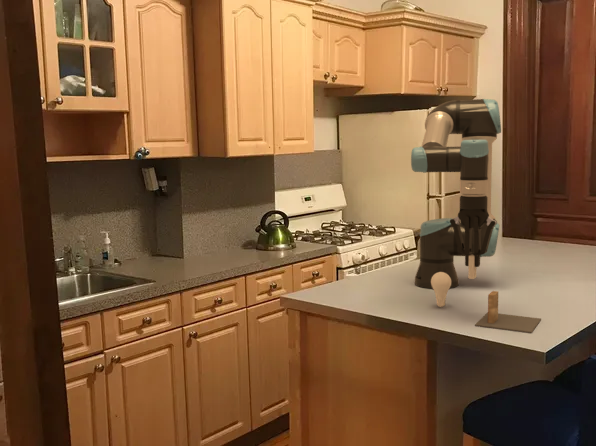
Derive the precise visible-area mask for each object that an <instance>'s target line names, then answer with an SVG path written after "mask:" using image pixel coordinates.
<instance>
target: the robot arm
mask: <svg viewBox="0 0 596 446" xmlns="http://www.w3.org/2000/svg"><path fill="white" fill-rule="evenodd" d="M500 116H501V115H500V107H499V103H498V101H497V100H496V99H489V98H487V99H486V98H482V99H481V98H480V99H479V98H478V99H464V100H463V99H459V100H454V99H453V100H449V101H446V102H443V103H440V104H439V105H437V106H436V107H434V108H433V109H432V110H431V111H430V112H429V113H428V114H427V116H426V118H425V120H424V121H425V122H424V129H425V132H424V136H423V139H422V142H421V146H418V147H413V148H412V149H411V152H410V155H411V156H410V164H411V170H412V171H413V172H415V173H424V174H426V173H459V174H460V178H459V194H461V195H460V196H459V212H458V214H457V216H455V217H453V218H452V217H450V218H449V217H446V218H445V217H443V218H435V219H429V220H425V221H424V222H422V223H421V224H420V229H419V237H420V238H419V248H420V249H419V265H418V268H417V270H416V274H415V277H414V285H416V286H418V287H421V288H424V289H432V290H434V289H433V287H432V285H431V279H432V276H433V275H434V274H436V273H438V272H444V273H446V274H448V275H449V277H450V278H451V286H450V288H449V289H452V288H456V287H458V286H459V277H458V273H457V270H456V267H455V264H454V257H464V258H465V259H464V265H465V267H468V272H467V273H468V276H467V277H468V279H470V280H475V279H476V278H477V268H478V267H480V265H481V258H484V257H487V258H488V257H489V258H490V257H492V256H494V255H495V253H496V252H497V251H496V250H497V244H498V240H499V239H498V238H499V232H500V223H498V220H496V217H495V216H494V215H493V214H492V209H491V208H492V168H493V167H492V163H493V162H492V160H493V143H494V142H495V141H496V140H497V137H498V134H501V133H502V124H501V117H500ZM450 135H461V142H460V146H447V145H448V142H449V141H448V140H449V136H450Z"/></svg>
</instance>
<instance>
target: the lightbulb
mask: <svg viewBox="0 0 596 446" xmlns="http://www.w3.org/2000/svg"><path fill="white" fill-rule="evenodd" d="M431 285H432V287H433V289H432V290H433V291H434V294H435V299H436V306H438V308H443V307H444V306H446V299H447V294H448V291H449V290H450V289H451V288H450V286H451V278H450V277H449V275H448V274H446V273H444V272H438V273H436V274H434V275H433V276H432V279H431Z"/></svg>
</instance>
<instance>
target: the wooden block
mask: <svg viewBox="0 0 596 446" xmlns="http://www.w3.org/2000/svg"><path fill="white" fill-rule="evenodd" d="M487 296H488V297H487V312H488V323H493V324H494V323H495V322H496V321H497V319H498V314H499V291H497V290H495V291H494V290H492V291H491V292H490V293H488V295H487Z"/></svg>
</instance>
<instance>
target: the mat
mask: <svg viewBox="0 0 596 446" xmlns="http://www.w3.org/2000/svg"><path fill="white" fill-rule="evenodd" d="M541 321H542V318H539V317H532V316H531V317H530V316H522V315H513V314H503V313H498V319H497V321H496V322H495V323H494V324H493V323H488V311H487V312H486V313H485V314H484V315H483V316H482V317H481V318H480V319H479V320H478V321H477V322H476V323H474V326H475V327H479V326H480V328H488V329H496V330H504V331H510V332H511V331H513V332H518V333H519V332H520V333H527V334H532V333H533V332H534V330H535V329H536V328H537V326H538V324H540V322H541Z"/></svg>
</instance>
